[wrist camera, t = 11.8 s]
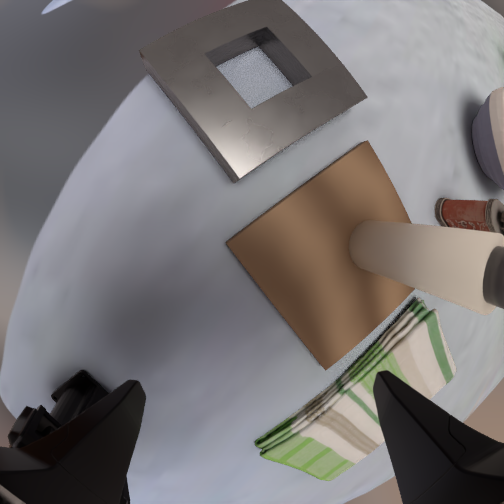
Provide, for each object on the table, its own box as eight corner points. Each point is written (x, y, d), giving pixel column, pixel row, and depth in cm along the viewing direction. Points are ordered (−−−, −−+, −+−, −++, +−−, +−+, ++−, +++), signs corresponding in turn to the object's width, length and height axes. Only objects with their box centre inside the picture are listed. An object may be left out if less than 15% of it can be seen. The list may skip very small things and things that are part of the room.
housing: (234, 183, 19) (239, 178, 16) (145, 69, 16) (138, 50, 13) (349, 108, 20) (367, 97, 17) (265, 12, 17) (273, -7, 14)
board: (321, 365, 23) (325, 370, 22) (225, 242, 19) (226, 243, 18) (424, 269, 23) (430, 271, 22) (361, 142, 20) (367, 140, 19)
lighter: (431, 219, 23) (511, 228, 13) (439, 190, 23) (516, 190, 13) (465, 249, 25) (531, 264, 15) (472, 224, 24) (537, 232, 15)
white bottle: (349, 273, 21) (501, 339, 7) (347, 222, 20) (515, 243, 6) (388, 265, 21) (530, 312, 8) (386, 218, 21) (539, 234, 7)
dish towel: (448, 366, 28) (464, 376, 25) (328, 475, 27) (337, 491, 24) (413, 289, 24) (436, 298, 21) (248, 438, 23) (255, 462, 20)
